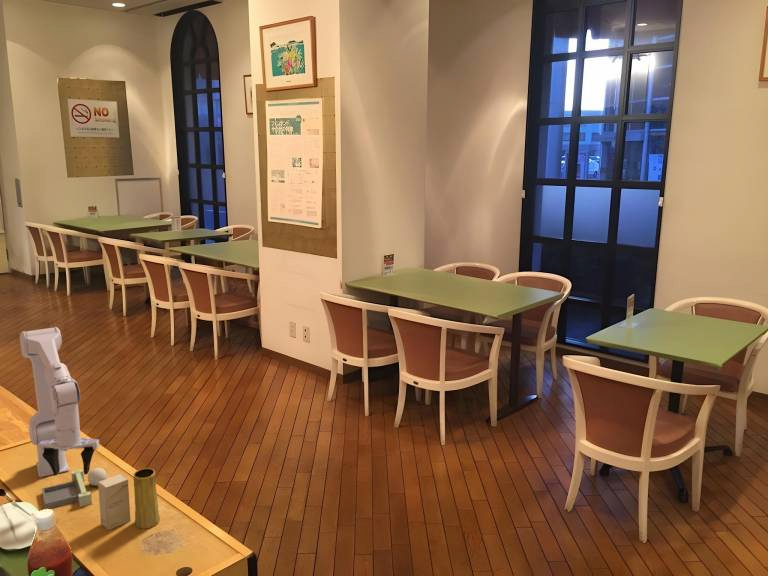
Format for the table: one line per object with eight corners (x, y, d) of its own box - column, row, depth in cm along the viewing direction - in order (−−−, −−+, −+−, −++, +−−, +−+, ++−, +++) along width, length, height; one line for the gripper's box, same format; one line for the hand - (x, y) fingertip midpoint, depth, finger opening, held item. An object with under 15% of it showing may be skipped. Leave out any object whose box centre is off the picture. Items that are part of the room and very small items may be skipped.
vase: (151, 530, 163) (148, 480, 160) (130, 527, 164) (126, 477, 161) (164, 517, 169) (161, 468, 166) (143, 514, 170) (140, 465, 167)
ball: (86, 482, 184) (85, 467, 183) (105, 478, 187) (104, 462, 186) (89, 490, 180) (88, 474, 179) (108, 486, 183) (107, 470, 182)
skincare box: (108, 531, 162) (104, 488, 160) (100, 523, 165) (96, 481, 162) (131, 520, 167) (128, 479, 164) (123, 513, 170) (120, 472, 167)
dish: (42, 493, 178) (41, 488, 178) (77, 485, 183) (77, 480, 183) (45, 509, 171) (45, 503, 170) (82, 500, 176) (81, 494, 175)
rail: (72, 480, 185) (71, 471, 184) (83, 478, 187) (82, 468, 186) (79, 506, 172) (79, 497, 172) (91, 503, 174) (91, 494, 173)
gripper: (32, 434, 163) (37, 481, 166) (91, 432, 165) (95, 479, 168) (43, 422, 170) (47, 468, 173) (100, 420, 171) (103, 466, 175)
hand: (71, 472), depth 171 cm, fingers open, 7 cm apart
